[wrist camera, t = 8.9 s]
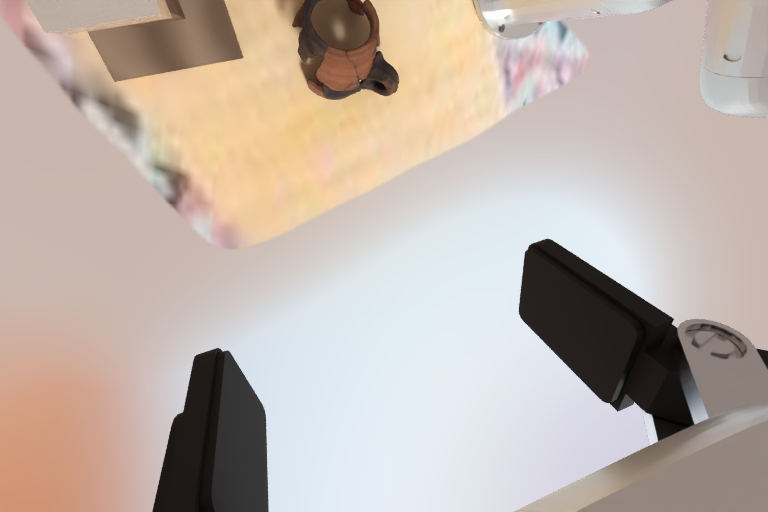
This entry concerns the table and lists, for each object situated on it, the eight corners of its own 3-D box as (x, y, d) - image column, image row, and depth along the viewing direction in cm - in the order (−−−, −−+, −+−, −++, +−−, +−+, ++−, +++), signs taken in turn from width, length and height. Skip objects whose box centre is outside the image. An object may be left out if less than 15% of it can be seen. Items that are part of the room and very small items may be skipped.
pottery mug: (280, 83, 38) (277, 37, 30) (311, 12, 39) (316, -51, 31) (376, 132, 41) (397, 101, 33) (403, 64, 42) (429, 19, 34)
